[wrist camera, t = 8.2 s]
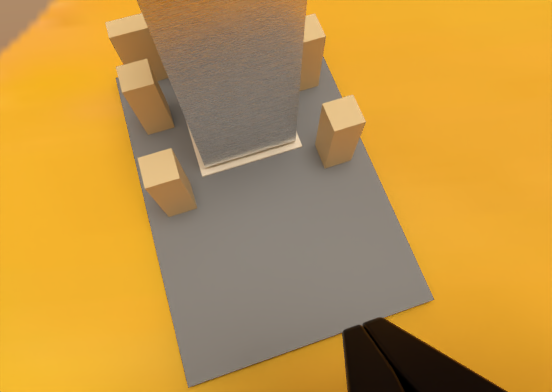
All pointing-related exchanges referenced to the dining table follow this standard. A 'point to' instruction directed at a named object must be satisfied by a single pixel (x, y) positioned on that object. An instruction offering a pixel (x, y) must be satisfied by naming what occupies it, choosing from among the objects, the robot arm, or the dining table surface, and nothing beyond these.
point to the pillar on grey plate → (232, 70)
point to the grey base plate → (263, 219)
